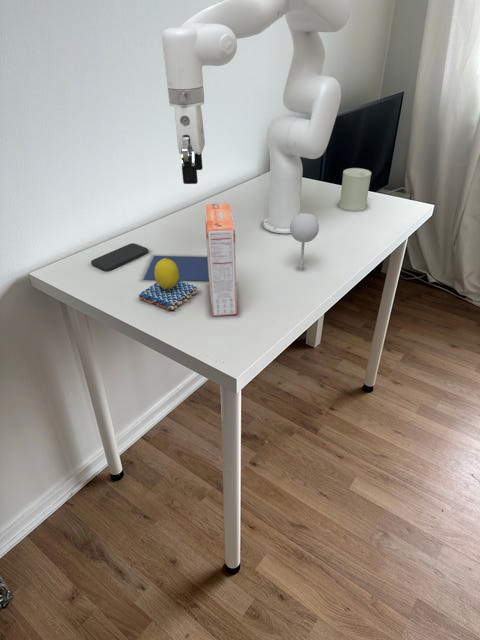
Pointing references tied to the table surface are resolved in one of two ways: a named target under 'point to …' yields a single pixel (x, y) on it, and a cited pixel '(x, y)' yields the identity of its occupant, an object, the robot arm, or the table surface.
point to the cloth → (183, 268)
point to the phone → (119, 256)
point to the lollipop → (304, 230)
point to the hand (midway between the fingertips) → (193, 176)
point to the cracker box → (221, 259)
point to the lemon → (166, 273)
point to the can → (355, 189)
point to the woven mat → (168, 295)
